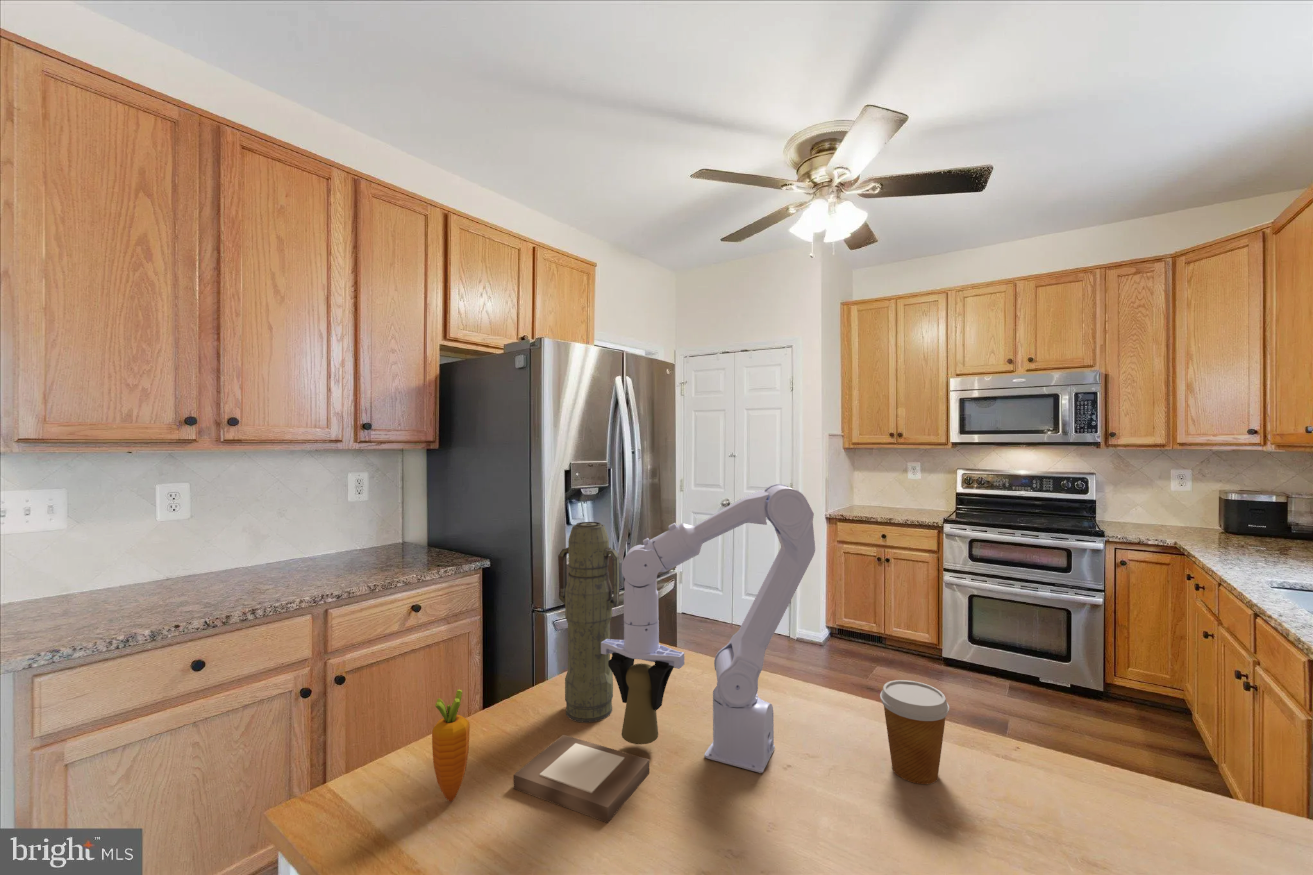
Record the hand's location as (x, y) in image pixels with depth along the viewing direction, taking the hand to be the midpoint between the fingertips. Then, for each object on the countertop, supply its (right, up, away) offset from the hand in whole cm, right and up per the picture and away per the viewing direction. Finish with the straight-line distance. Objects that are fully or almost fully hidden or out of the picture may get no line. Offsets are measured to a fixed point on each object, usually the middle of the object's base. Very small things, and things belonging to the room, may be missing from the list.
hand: (642, 703), depth 88 cm
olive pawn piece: (0, -5, 0) cm, 5 cm away
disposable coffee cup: (+42, -7, -6) cm, 43 cm away
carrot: (-26, -8, -13) cm, 30 cm away
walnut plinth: (-9, -7, -8) cm, 14 cm away
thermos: (-10, -8, +13) cm, 18 cm away
